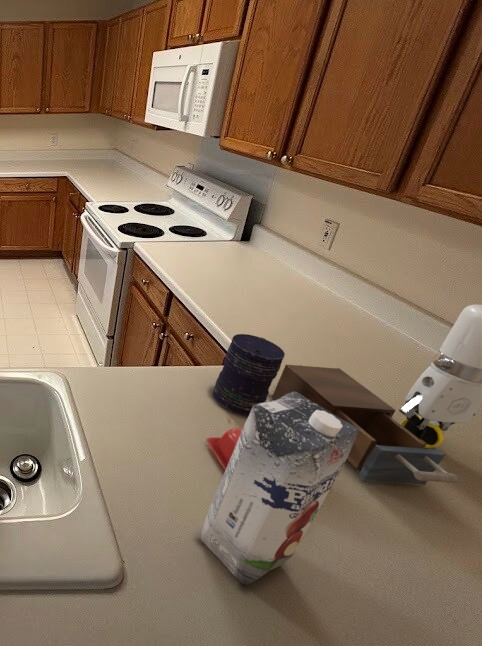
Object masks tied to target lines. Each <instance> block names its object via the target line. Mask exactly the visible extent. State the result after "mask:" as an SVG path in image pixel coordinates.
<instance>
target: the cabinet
mask: <svg viewBox="0 0 482 646" xmlns="http://www.w3.org/2000/svg"><path fill="white" fill-rule="evenodd" d="M293 391H295V392H297V393H299V394H301V395H302V396H304V397H305V398H307V399H309V400H310V401H312V402H314V403H315V404H317V405H319V406H321V407H322V408H324V409H326V410H327V411H329V412H331V413H332V414H333V413H334V411H335V409H343V410H356V411H370V412H384V413H386V414H387V415H389V416H390V417H391V418H392V419H393V416H394V414H395V413H396V411H397V410H396V409H395V408H394V407H393V406H391V405H390V404H389V403H387V402H386V401H384V400H383V399H382V398H380V397H379V396H378V395H376V394H375V393H374V392H372V391H371V390H369V389H368V388H367V387H365V386H364V385H363V384H361V383H360V382H359V381H358V380H356V379H355V378H353V377H352V376H350V375H349V374H348V373H346V372H345V371H344V370H343V369H341V368H336V367H325V366H324V367H322V366H311V365H295V364H285V366H284V368H283V370H282V372H281V375H280V377H279V380H278V381H277V383H276V387H275V388H274V391H273V394H271V395H272V396H271V398H273V399H274V401H275V400H278V399H280V398H282V397H283V396H285V395H287V394H288V393H290V392H293Z"/></svg>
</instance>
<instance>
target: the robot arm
mask: <svg viewBox="0 0 482 646" xmlns="http://www.w3.org/2000/svg"><path fill="white" fill-rule="evenodd" d="M481 407H482V304H477V303H475V304H470V305H467V306H465V307H464V308H463V309H462V311H461V312H460V314H459V316H458V317H457V319H456V320H455V322H454V324H453V326H452V327H451V328H450V330H449V332H448V334H447V335H446V337H445V339H444V341H443V342H442V345H441V346H440V348H439V350H438V351H437V352H436V354H435V356H434V358H433V360H432V361H431V364H430V365H429V366H428V367H427V368H426V369H425V370H424V371H423V372H422V374H421V375H420V376H419V377H418V379H416V381H415V382H414V384H413V385H412V387H410V389H409V391H408V393H407V394H406V397H405V398H404V405H403V406H401V408H399V409H398V412H400V413H401V414H402V415H403V416H405V417H406V418H405V419H407V420H408V421H407V423H406V424H405V426H404V428H406V429H407V430H408V431H409V432H411V433H412V434H413V435H415V436H416V437H417V438H419V439H420V440H421V441H422V442H424V443H425V444H426V445H434V444H436V442H437V441H438V435H437V432H436V431H435V430H434V428H432V427H429V426H427V424H428V423H429V421H437V422H438V423H439V427H440V429H441V430H442V431H443V432H446V431H447V432H448V430H449V428H450V427H451V426H452V425H455V424H468V423H471V422H472V421H473V420H474V418H475V417H476V416H477V414H478V413H479V411H480V409H481ZM418 415H419V417H422V419H421V420H420V418H419V417H418Z"/></svg>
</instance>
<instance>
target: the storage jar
mask: <svg viewBox="0 0 482 646" xmlns="http://www.w3.org/2000/svg"><path fill="white" fill-rule="evenodd" d="M285 355H286V353H285V351H284V350H283V349H282V348H281V347H280V346H279V345H277V344H276V343H274V342H272V341H270V340H268V339H266V338H264V337H260V336H256V335H252V334H246V333H238V334H235V335H233V336H232V339H231V342H230V344H229V346H228V348H227V351H226V354H225V357H224V361H225V362H224V364H223V367H222V369H221V371H220V372H219V374H218V377H217V378H216V381H215V385H214V389H213V390H212V397H213V399H214V400H215V402H216V403H217V404H218V405H220V406H221V407H222V408H224V409H225V410H227V411H229V412H231V413H233V414H235V415H239V416H242V417H247V418H248V417H249V414H250V412H251V410H252V407H253V405H255V404H258V403H263V402H267V400H268V399H267V398H268V396H269V394H270V393H269V390H270V387H271V386H272V383H273V381H274V380H275V378H276V377H277V376H278V372H279V371H280V369H281V366H282V362H283V360H284V358H285Z"/></svg>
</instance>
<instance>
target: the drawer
mask: <svg viewBox="0 0 482 646" xmlns="http://www.w3.org/2000/svg"><path fill="white" fill-rule="evenodd" d="M333 414H334V415H336V416H337V417H339V418H341V419H342V420H344V421H346V422H348V423H349V424H351V425H353V426H355V427H356V428H357V429H359V432H358V434H357V437H356V439H355V441H354V443H353V446H352V448H351V450H350V453H349V455H348V457H347V459H346V461H348V462H349V463H350V464H351V465H352V466H353V467H354V468H355V469H360V471H359V473H358V477H359V478H360V479H361V480H362V481H364V482H374V483H375V482H376V483H387V484H388V483H391V484H405V485H418V486H419V485H420V486H425V485H426V484H427V483H428V482H435V483H450V484H451V483H452V484H457V483H458V482H459V478H458V476H457V475H456V474H454V473H450V472H448V471H446V470H445V469H444V468H443V467H441V466H440V463H441V462H442V461H443V460H444V457H445V456H446V454H445V453H443V452H442V451H441V450H439V449H437V448H435V449H434V448H424V447H425V445H427V444H426V443H425V442H424V441H423V440H420V439H419V438H417V437H416V436H415V435H413V434H412V433H411V432H409V431H408V430H407V429H406V428H404V427H403V426H402V425H401V424H400V423H399V422H397V420H396V419H393V417H392V418H391V417H390V416H389V415H387V414H386V413H384V412H370V411H356V410H343V409H335V411H334V413H333ZM436 471H437V472H436Z"/></svg>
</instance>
